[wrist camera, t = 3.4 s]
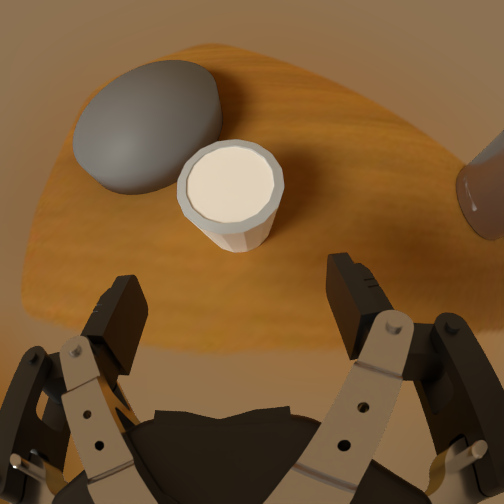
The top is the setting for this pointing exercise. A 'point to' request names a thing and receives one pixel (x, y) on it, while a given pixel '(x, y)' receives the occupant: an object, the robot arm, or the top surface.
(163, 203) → the top surface
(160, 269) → the top surface
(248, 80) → the top surface
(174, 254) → the top surface
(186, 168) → the white cup
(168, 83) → the stand
